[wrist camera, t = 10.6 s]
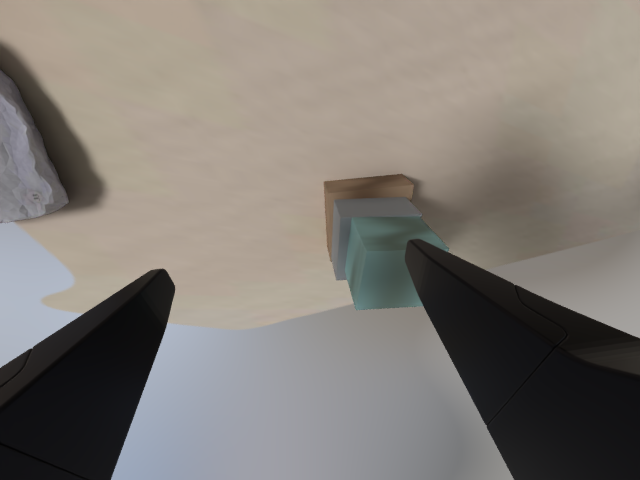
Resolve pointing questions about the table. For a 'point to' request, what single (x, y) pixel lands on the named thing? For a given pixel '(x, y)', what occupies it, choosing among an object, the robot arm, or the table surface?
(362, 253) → the teal block
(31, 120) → the stone block
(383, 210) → the grey middle block
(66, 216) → the table surface
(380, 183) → the walnut base block
